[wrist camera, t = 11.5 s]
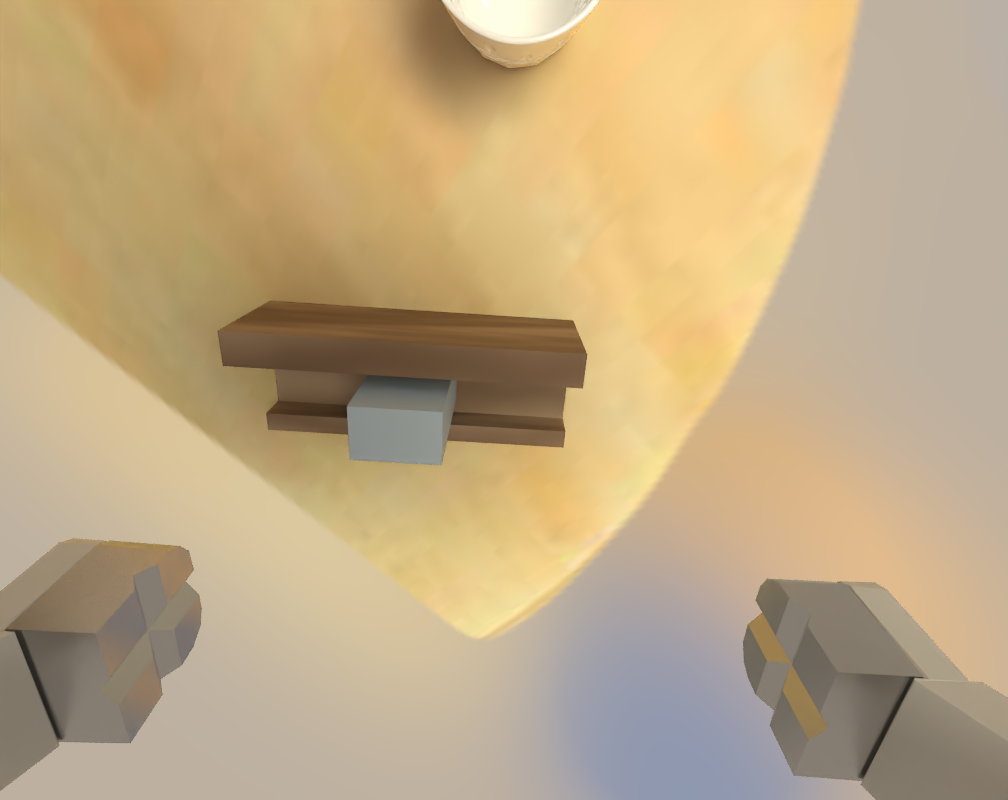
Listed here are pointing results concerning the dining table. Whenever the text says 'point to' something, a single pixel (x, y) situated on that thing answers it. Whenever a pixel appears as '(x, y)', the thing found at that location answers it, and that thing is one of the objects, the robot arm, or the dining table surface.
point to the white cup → (518, 27)
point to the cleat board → (413, 365)
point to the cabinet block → (401, 419)
